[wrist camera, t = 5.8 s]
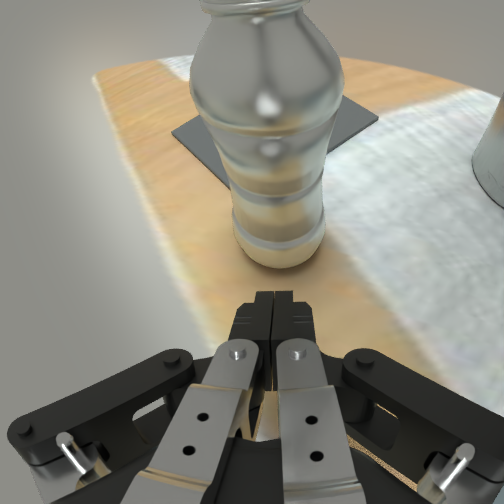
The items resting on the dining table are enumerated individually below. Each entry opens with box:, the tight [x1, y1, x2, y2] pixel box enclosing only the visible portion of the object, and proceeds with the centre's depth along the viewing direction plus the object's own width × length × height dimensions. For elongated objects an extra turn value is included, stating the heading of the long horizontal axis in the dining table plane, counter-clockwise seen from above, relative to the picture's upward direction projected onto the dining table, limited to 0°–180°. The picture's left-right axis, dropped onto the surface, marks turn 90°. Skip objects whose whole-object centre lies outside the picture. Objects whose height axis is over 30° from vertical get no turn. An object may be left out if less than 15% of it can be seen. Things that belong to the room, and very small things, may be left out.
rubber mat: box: [171, 95, 379, 190], centre depth 30 cm, size 18×14×1 cm
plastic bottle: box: [189, 0, 345, 268], centre depth 15 cm, size 6×7×20 cm
